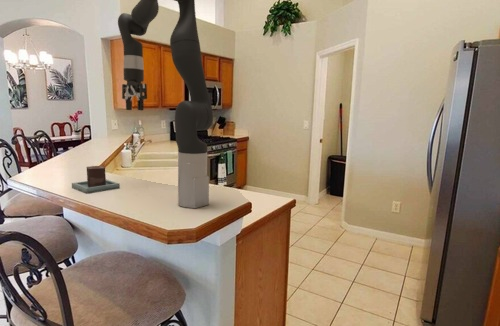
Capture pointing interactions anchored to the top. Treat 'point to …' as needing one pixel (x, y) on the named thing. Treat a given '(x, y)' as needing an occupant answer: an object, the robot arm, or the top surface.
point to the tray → (84, 187)
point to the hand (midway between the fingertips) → (134, 110)
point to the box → (96, 176)
